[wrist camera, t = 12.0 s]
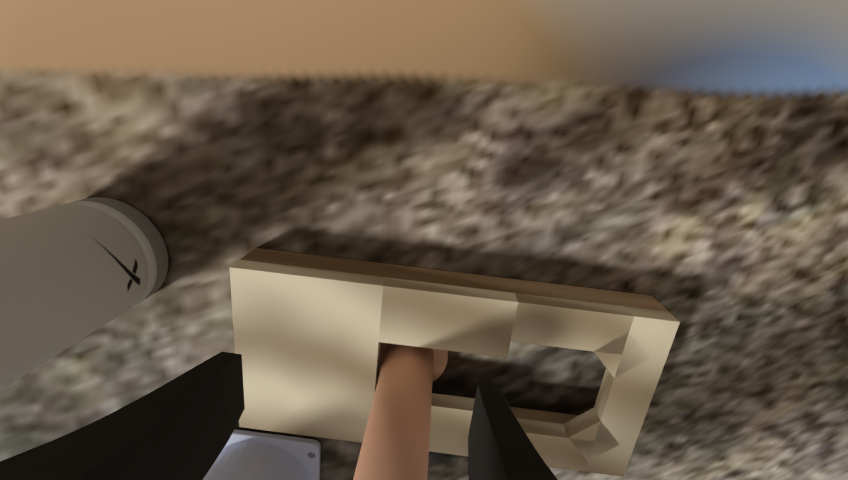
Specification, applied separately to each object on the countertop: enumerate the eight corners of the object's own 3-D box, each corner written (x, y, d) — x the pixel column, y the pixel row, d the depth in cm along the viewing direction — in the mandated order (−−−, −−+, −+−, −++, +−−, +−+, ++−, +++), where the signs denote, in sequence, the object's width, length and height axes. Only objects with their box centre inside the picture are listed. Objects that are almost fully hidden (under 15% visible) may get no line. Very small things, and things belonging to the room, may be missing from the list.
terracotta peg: (443, 380, 24) (441, 558, 14) (372, 372, 24) (324, 543, 15) (452, 317, 22) (455, 469, 13) (376, 309, 23) (326, 453, 13)
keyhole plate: (604, 436, 25) (623, 476, 22) (261, 393, 25) (239, 426, 22) (651, 295, 21) (680, 321, 19) (256, 247, 22) (229, 267, 19)
